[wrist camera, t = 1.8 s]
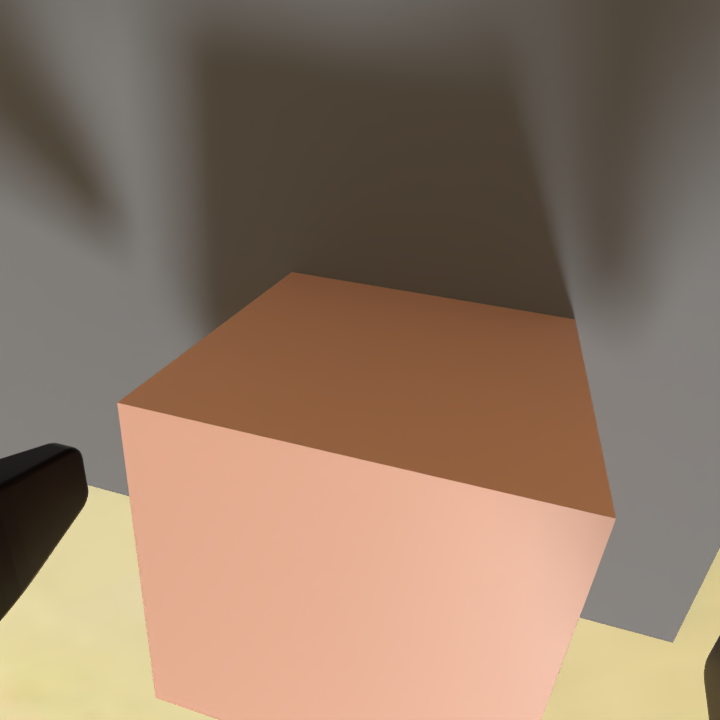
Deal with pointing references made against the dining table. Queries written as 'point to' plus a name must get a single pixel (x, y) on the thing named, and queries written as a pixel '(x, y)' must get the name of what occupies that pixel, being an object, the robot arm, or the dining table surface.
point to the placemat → (377, 213)
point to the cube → (366, 507)
